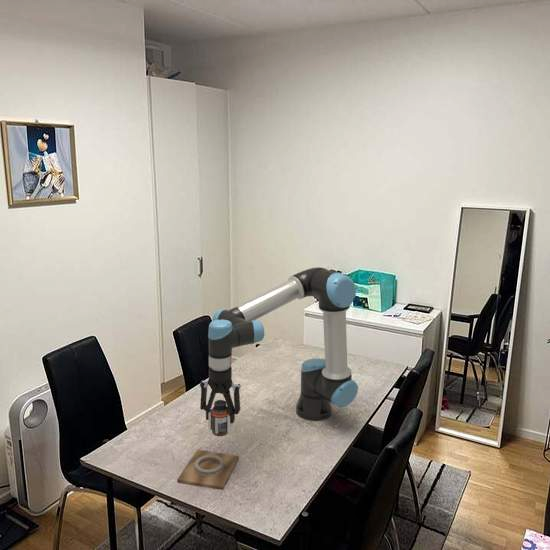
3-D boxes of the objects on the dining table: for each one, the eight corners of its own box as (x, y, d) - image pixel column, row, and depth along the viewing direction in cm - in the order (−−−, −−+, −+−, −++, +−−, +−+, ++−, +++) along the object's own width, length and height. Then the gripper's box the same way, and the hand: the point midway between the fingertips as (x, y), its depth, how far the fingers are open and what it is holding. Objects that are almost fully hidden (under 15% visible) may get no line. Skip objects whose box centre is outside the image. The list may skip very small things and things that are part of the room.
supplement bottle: (211, 428, 178) (211, 398, 175) (229, 427, 178) (229, 397, 175) (211, 437, 172) (211, 406, 169) (229, 436, 172) (229, 406, 170)
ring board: (238, 458, 185) (238, 451, 184) (222, 489, 168) (222, 482, 167) (197, 451, 188) (197, 445, 188) (177, 482, 171) (177, 475, 171)
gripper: (251, 365, 171) (250, 427, 176) (197, 359, 175) (197, 420, 180) (244, 374, 164) (244, 439, 169) (188, 367, 167) (189, 431, 173)
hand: (220, 429), depth 175 cm, fingers closed on supplement bottle, 6 cm apart
